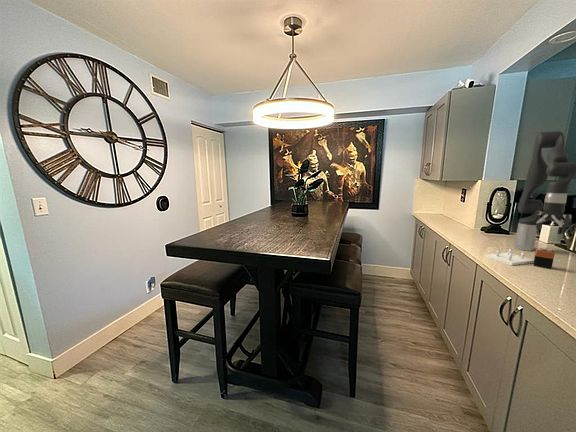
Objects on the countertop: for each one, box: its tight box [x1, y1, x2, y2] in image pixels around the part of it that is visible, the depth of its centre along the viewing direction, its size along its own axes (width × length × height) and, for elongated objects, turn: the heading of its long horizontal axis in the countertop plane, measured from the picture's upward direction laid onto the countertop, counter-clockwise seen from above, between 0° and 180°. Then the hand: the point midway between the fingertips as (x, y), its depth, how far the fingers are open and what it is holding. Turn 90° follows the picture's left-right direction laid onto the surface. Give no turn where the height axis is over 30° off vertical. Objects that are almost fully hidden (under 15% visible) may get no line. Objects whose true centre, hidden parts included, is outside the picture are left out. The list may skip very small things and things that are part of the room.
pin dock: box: [485, 248, 534, 266], centre depth 141 cm, size 18×14×5 cm
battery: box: [532, 247, 556, 270], centre depth 130 cm, size 4×7×10 cm, turn 46°
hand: (548, 232), depth 128 cm, fingers open, 8 cm apart
